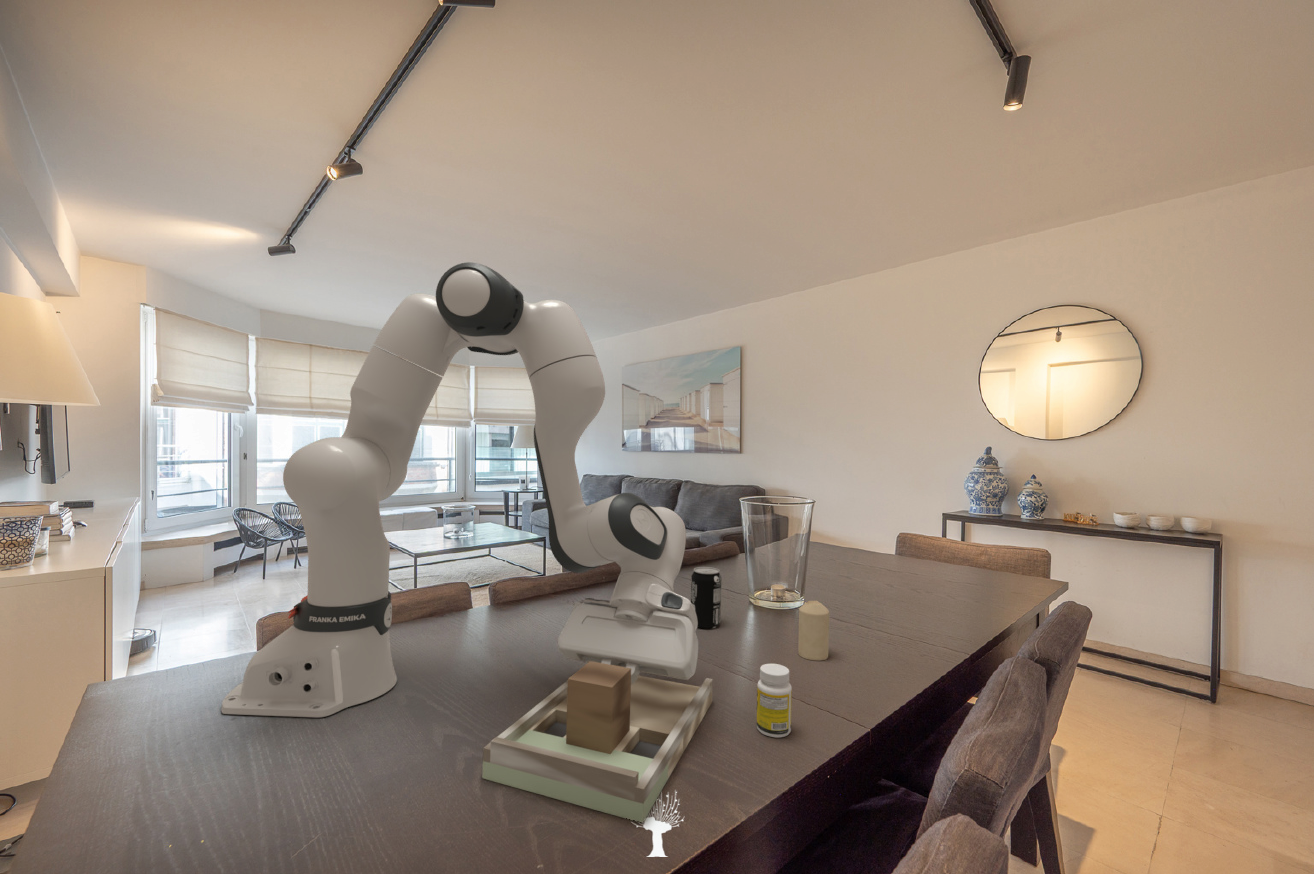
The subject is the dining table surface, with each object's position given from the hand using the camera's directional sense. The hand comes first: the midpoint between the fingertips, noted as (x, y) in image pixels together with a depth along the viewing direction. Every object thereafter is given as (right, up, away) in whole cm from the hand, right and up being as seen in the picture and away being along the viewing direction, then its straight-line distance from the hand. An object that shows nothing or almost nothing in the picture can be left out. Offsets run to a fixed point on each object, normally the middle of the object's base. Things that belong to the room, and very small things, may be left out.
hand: (610, 698), depth 73 cm
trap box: (0, -5, +1) cm, 5 cm away
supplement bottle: (+22, -6, +3) cm, 23 cm away
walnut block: (-1, -3, -3) cm, 5 cm away
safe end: (-3, -5, -9) cm, 11 cm away
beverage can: (+17, -6, +47) cm, 50 cm away
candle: (+36, -7, +31) cm, 48 cm away
